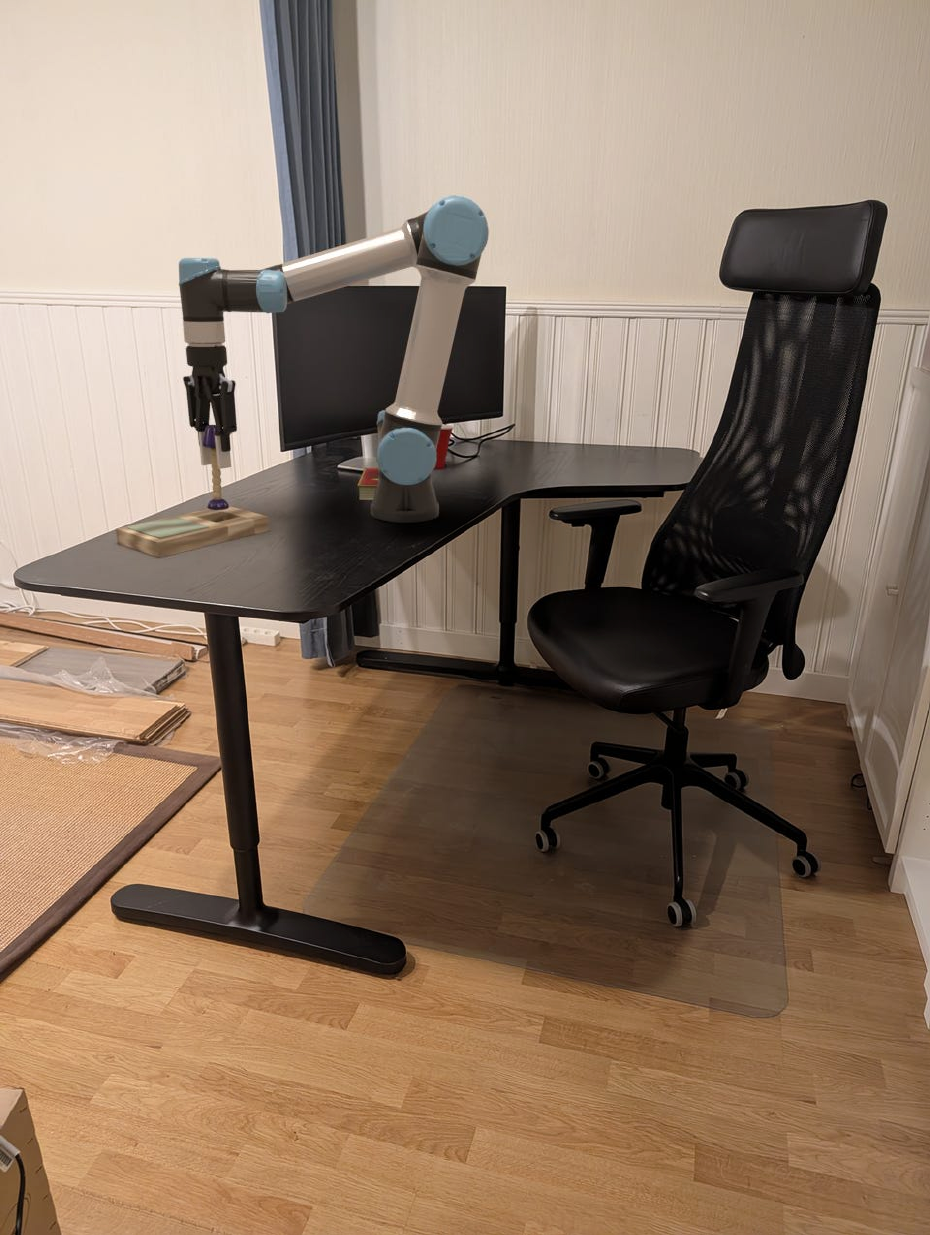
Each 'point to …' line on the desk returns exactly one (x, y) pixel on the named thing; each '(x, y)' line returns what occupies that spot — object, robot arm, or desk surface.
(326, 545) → the desk surface
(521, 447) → the desk surface
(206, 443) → the toy lamp
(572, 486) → the desk surface
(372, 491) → the hardcover book
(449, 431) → the plastic cup
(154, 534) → the light wooden flat block
